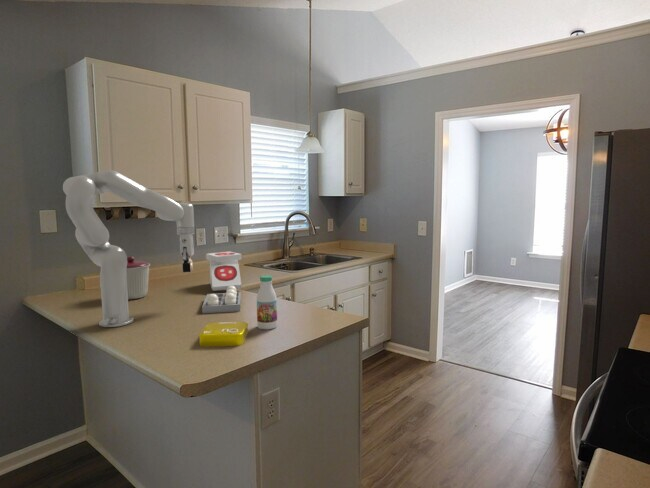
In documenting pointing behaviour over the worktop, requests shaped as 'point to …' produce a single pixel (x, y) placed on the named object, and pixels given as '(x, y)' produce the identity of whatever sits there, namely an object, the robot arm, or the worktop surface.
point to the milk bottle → (266, 304)
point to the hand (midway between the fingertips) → (187, 270)
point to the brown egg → (190, 266)
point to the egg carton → (222, 301)
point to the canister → (137, 278)
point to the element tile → (224, 334)
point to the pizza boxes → (224, 270)
